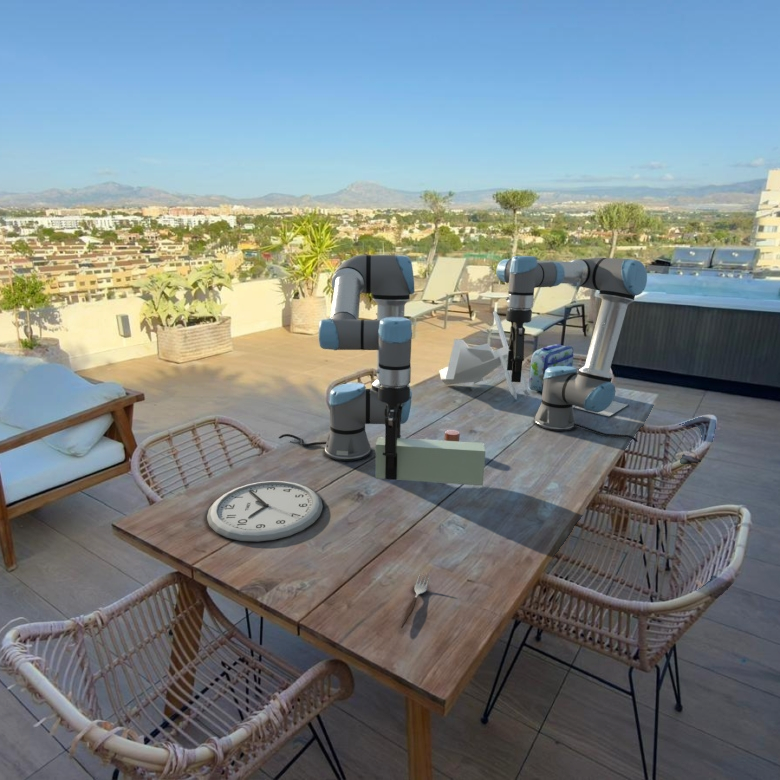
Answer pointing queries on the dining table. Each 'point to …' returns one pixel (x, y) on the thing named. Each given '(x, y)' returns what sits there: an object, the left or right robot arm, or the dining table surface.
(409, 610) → the fork
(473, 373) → the white plastic object
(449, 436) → the orange cylinder puck
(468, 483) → the beam
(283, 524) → the wall clock
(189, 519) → the dining table surface
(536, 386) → the lunch box
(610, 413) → the invitation card
